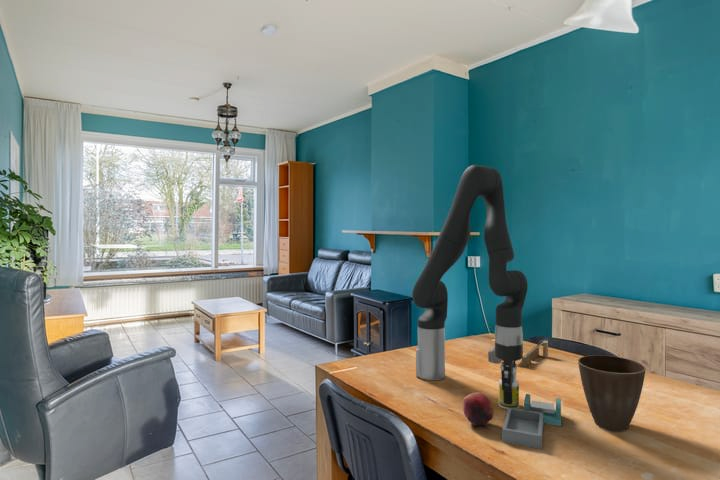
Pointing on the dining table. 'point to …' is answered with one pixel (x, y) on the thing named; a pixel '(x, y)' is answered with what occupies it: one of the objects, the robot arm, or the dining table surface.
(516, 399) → the supplement bottle
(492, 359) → the skate ramp
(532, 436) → the trough
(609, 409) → the plant pot
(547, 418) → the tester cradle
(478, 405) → the fruit
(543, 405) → the plate
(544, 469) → the dining table surface
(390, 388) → the dining table surface
